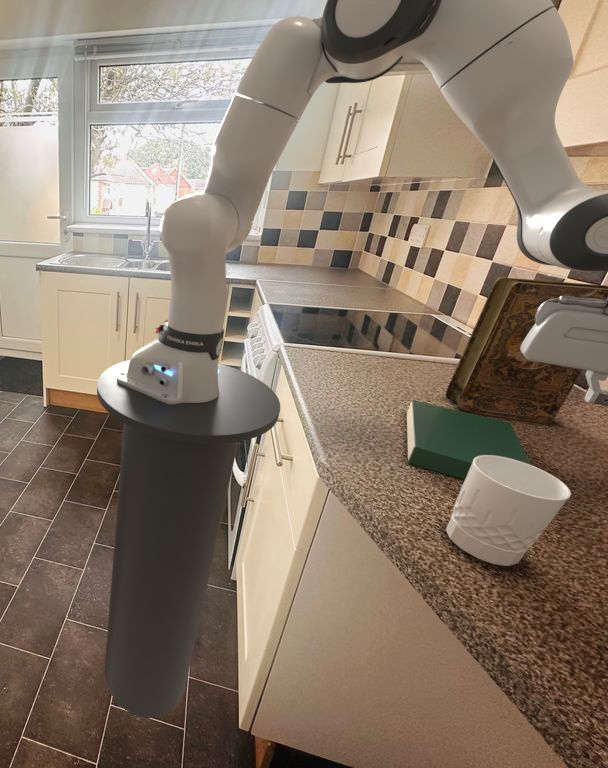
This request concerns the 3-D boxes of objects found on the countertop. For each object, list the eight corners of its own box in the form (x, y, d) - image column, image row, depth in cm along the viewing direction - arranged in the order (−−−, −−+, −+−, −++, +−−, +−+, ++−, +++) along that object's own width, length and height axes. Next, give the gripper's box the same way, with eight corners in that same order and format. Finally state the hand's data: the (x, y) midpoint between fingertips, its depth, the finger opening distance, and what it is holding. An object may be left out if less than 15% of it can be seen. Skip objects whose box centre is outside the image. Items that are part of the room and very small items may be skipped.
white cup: (423, 520, 53) (455, 454, 49) (481, 519, 53) (517, 454, 49) (479, 572, 46) (522, 500, 41) (545, 570, 46) (593, 499, 42)
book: (539, 412, 82) (609, 285, 72) (557, 425, 78) (636, 292, 67) (442, 398, 87) (496, 276, 76) (454, 410, 82) (513, 282, 71)
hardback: (407, 463, 64) (414, 446, 63) (406, 413, 80) (411, 399, 78) (529, 499, 57) (540, 481, 56) (502, 437, 73) (510, 422, 71)
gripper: (552, 297, 55) (505, 391, 60) (815, 326, 44) (729, 436, 50) (540, 289, 59) (498, 378, 65) (774, 314, 49) (700, 416, 55)
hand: (600, 404), depth 58 cm, fingers closed
